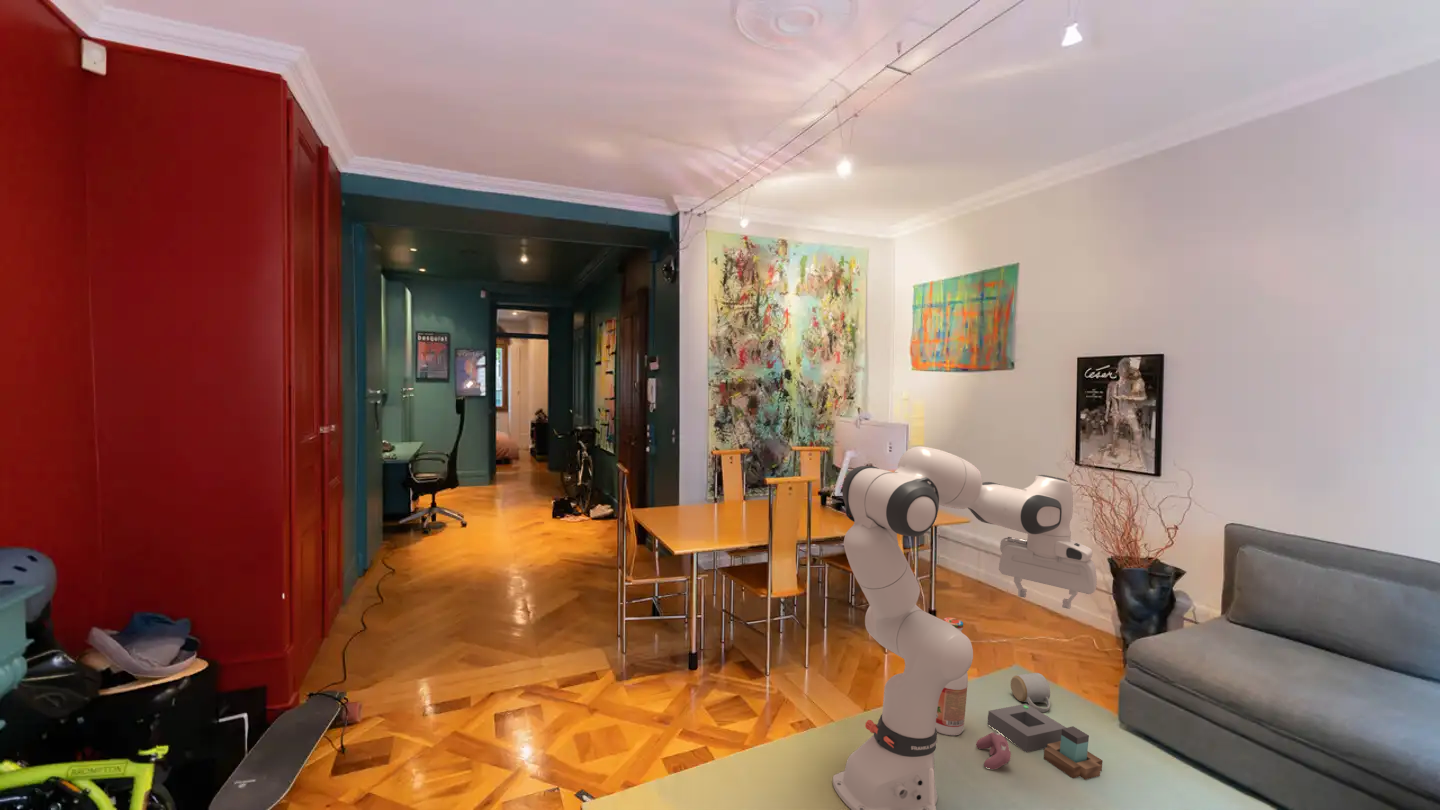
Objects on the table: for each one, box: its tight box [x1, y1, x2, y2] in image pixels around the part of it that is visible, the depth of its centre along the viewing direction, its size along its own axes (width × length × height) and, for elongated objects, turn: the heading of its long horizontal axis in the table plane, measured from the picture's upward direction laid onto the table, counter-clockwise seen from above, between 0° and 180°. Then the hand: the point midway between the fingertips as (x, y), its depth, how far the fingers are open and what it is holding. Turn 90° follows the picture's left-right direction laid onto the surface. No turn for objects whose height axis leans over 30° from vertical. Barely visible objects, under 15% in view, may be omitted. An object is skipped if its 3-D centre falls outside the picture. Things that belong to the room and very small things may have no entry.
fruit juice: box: [935, 616, 969, 736], centre depth 155 cm, size 9×9×28 cm
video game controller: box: [975, 731, 1012, 770], centre depth 142 cm, size 10×5×7 cm
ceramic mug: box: [1010, 672, 1051, 713], centre depth 171 cm, size 11×8×8 cm
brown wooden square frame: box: [1043, 741, 1103, 781], centre depth 142 cm, size 10×10×2 cm
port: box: [986, 703, 1067, 753], centre depth 154 cm, size 14×12×4 cm
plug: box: [1060, 726, 1090, 763], centre depth 142 cm, size 4×4×8 cm
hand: (1043, 602), depth 140 cm, fingers open, 8 cm apart
